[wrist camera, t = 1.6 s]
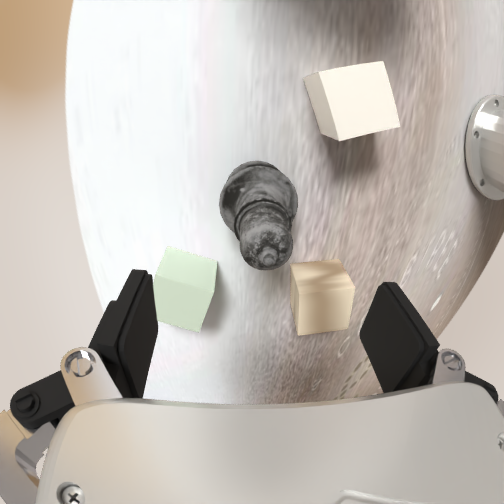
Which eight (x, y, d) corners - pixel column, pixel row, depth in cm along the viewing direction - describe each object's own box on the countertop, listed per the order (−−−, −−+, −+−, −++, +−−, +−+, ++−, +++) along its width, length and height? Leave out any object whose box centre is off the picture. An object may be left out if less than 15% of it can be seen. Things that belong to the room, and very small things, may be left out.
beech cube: (338, 258, 28) (355, 287, 24) (334, 297, 31) (347, 328, 26) (290, 263, 28) (299, 294, 24) (290, 302, 31) (297, 335, 26)
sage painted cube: (217, 260, 28) (214, 292, 23) (203, 299, 30) (198, 332, 26) (167, 245, 27) (155, 274, 22) (158, 285, 29) (146, 317, 25)
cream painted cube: (356, 66, 19) (383, 61, 15) (371, 120, 22) (400, 126, 17) (302, 77, 20) (318, 71, 16) (320, 133, 22) (339, 141, 18)
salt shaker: (295, 213, 26) (333, 296, 15) (231, 228, 26) (228, 320, 16) (282, 150, 23) (321, 194, 12) (213, 167, 23) (192, 224, 13)
